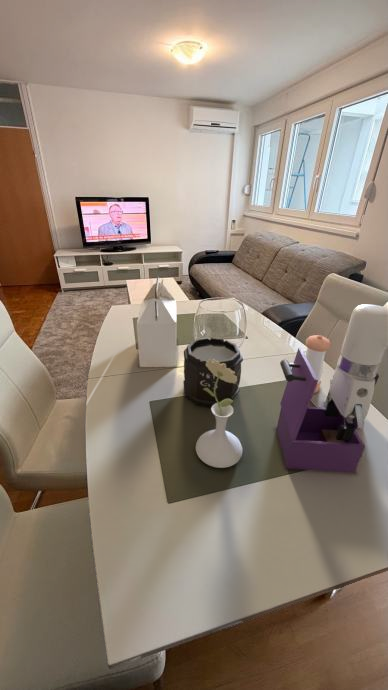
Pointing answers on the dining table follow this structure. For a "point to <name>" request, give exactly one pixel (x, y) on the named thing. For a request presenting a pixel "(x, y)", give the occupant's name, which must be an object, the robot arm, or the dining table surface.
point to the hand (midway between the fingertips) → (336, 426)
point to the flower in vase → (219, 426)
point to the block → (329, 436)
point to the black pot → (203, 378)
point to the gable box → (157, 328)
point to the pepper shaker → (317, 355)
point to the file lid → (297, 391)
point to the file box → (318, 444)
